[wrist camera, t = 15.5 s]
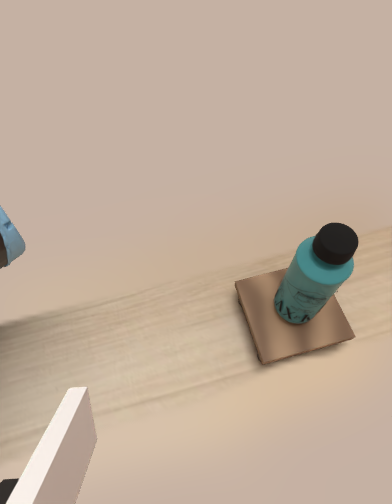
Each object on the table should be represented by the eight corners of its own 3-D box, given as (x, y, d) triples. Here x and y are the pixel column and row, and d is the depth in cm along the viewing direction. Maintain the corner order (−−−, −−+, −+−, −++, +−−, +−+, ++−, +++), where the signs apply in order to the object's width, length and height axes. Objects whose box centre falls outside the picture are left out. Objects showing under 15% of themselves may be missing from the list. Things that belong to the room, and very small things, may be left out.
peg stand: (258, 369, 50) (263, 362, 45) (233, 294, 56) (235, 281, 51) (342, 345, 51) (355, 336, 46) (307, 275, 58) (316, 260, 53)
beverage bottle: (268, 289, 51) (298, 211, 33) (310, 287, 50) (362, 208, 33) (274, 329, 47) (311, 267, 30) (319, 328, 47) (383, 264, 30)
